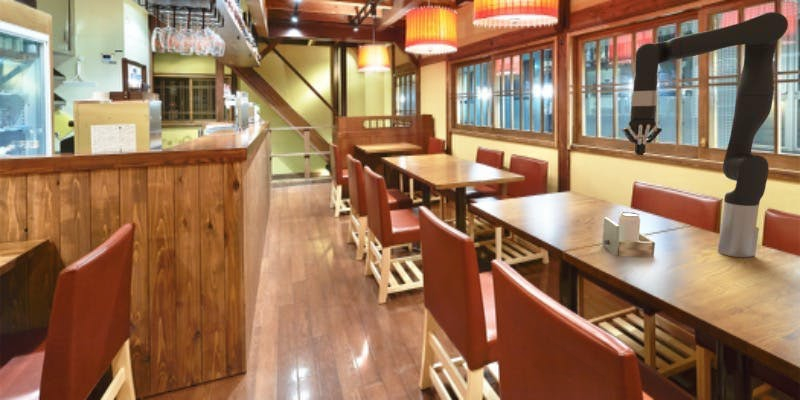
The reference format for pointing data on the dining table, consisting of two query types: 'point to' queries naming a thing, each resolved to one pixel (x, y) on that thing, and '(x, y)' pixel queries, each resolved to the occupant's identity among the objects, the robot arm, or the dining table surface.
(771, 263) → the dining table surface
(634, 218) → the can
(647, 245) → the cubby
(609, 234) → the bracket
